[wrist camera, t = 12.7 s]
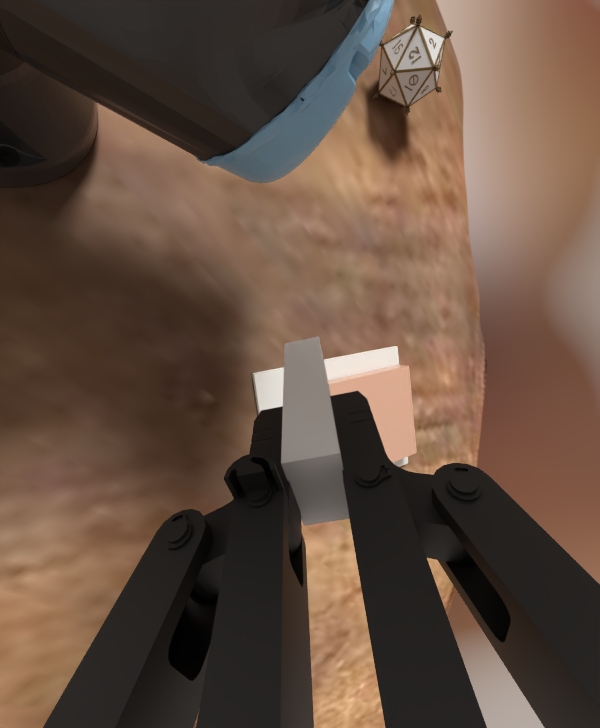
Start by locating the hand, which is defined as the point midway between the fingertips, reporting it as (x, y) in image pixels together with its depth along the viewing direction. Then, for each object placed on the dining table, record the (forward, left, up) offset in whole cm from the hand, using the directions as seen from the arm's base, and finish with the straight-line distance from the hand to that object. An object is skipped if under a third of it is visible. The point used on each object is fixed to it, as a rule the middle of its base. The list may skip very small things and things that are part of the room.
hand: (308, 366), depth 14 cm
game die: (+6, +41, -21) cm, 47 cm away
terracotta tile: (+14, -4, -19) cm, 24 cm away
